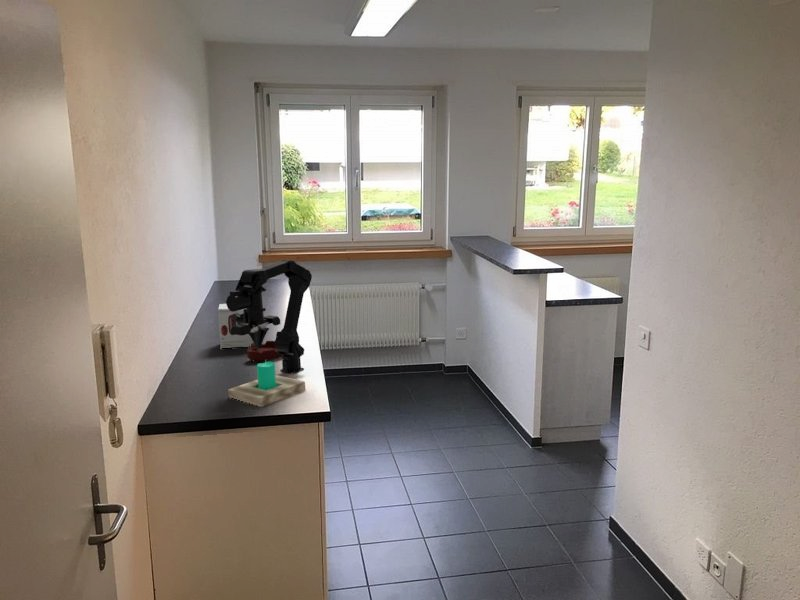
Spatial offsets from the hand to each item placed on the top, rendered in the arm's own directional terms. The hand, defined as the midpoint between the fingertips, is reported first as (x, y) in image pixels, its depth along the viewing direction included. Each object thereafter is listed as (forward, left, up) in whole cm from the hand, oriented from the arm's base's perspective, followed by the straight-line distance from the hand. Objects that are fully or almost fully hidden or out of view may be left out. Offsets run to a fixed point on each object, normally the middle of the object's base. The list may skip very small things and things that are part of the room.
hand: (258, 348), depth 231 cm
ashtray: (-26, -24, -13) cm, 38 cm away
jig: (+7, +12, -13) cm, 19 cm away
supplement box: (-33, -50, -13) cm, 61 cm away
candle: (+7, +12, -13) cm, 19 cm away
